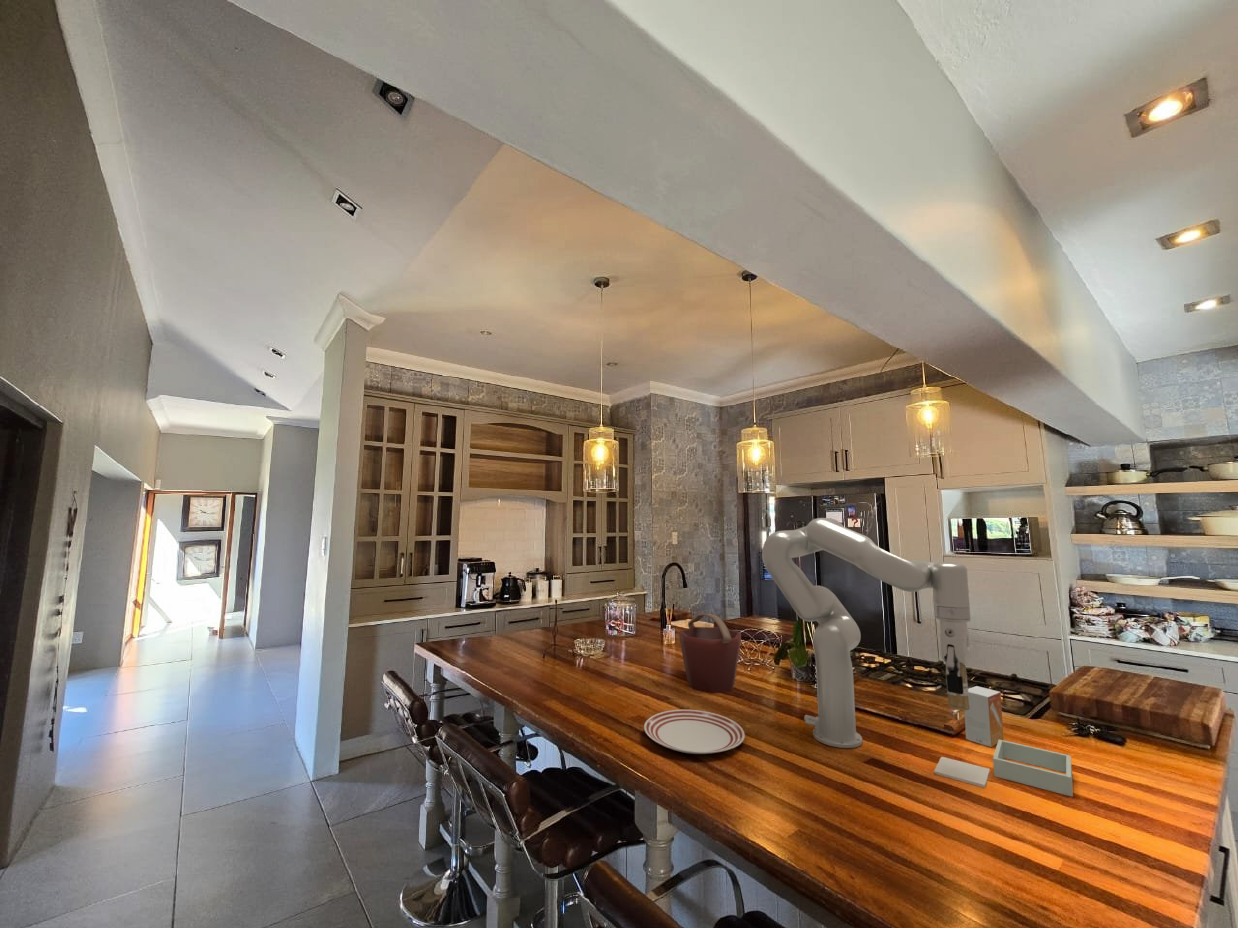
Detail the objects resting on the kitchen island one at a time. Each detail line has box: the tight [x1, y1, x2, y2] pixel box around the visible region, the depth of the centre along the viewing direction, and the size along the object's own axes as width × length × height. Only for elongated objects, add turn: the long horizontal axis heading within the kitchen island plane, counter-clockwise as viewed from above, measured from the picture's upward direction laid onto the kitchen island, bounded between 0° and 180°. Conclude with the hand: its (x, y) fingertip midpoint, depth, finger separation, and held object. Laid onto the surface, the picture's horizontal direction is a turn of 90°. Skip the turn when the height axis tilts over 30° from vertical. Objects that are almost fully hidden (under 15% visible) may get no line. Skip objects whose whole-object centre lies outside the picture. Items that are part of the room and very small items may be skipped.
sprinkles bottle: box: [944, 656, 970, 711], centre depth 126 cm, size 5×5×13 cm
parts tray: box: [992, 740, 1074, 798], centre depth 123 cm, size 14×14×4 cm
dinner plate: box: [643, 709, 746, 755], centre depth 143 cm, size 28×27×3 cm
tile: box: [933, 756, 991, 789], centre depth 124 cm, size 10×10×1 cm
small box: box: [964, 685, 1005, 748], centre depth 143 cm, size 8×6×13 cm
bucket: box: [678, 613, 742, 694], centre depth 190 cm, size 24×22×25 cm
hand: (957, 689), depth 126 cm, fingers closed on sprinkles bottle, 4 cm apart
